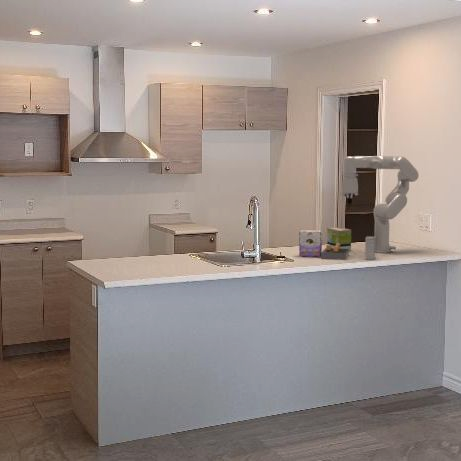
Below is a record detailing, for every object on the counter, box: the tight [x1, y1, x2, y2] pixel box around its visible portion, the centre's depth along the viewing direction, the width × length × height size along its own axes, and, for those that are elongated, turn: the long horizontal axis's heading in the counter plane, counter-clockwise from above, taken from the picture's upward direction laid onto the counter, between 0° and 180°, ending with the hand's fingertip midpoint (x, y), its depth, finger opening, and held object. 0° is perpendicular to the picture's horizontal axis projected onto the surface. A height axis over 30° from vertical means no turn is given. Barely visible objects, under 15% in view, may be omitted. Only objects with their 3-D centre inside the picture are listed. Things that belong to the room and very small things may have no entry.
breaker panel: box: [320, 247, 350, 261], centre depth 460 cm, size 15×20×4 cm
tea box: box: [326, 226, 352, 252], centre depth 488 cm, size 15×10×15 cm, turn 25°
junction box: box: [364, 235, 376, 261], centre depth 454 cm, size 5×12×13 cm, turn 165°
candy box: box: [298, 229, 323, 258], centre depth 462 cm, size 14×6×16 cm, turn 74°
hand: (349, 204), depth 470 cm, fingers closed
